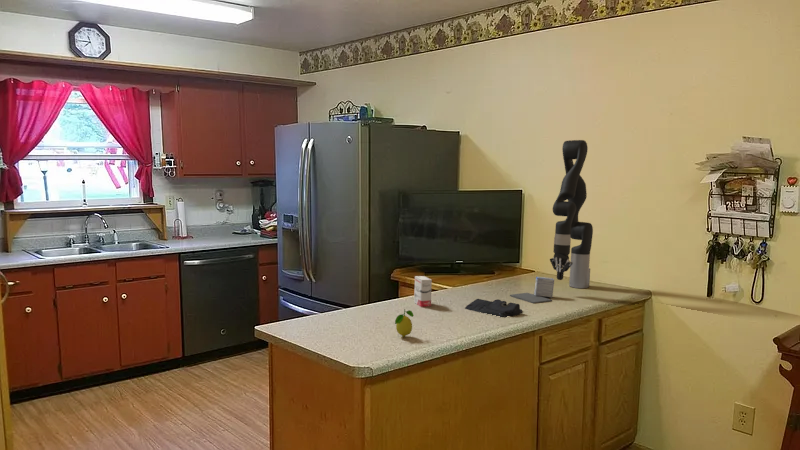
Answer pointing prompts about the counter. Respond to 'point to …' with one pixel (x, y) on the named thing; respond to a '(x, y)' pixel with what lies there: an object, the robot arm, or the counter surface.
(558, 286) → the counter surface
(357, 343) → the counter surface
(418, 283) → the ink box
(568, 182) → the robot arm
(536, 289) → the medicine box
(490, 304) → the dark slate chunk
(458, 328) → the counter surface
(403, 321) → the lemon
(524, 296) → the mat
